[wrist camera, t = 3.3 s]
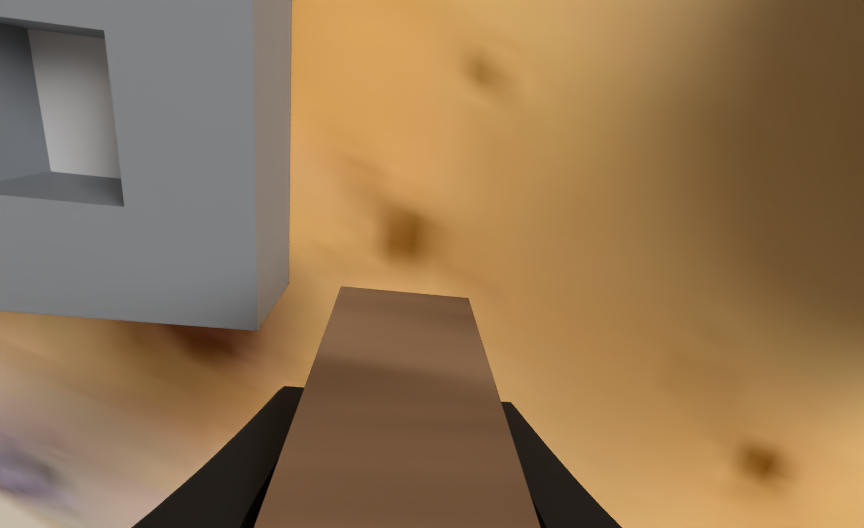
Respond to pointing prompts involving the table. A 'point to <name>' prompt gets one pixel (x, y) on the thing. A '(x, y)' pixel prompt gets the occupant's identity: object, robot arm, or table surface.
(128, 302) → the socket block
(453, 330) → the peg
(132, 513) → the table surface
